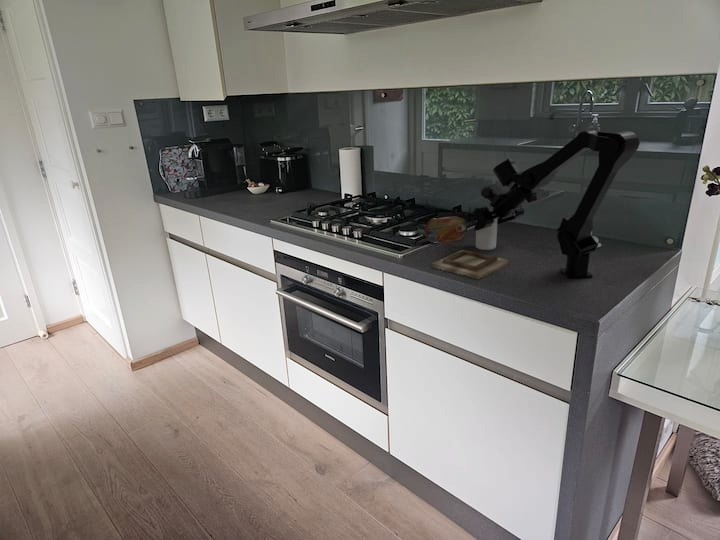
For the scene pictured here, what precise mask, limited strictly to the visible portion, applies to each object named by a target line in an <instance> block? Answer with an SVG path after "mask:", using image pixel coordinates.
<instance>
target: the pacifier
mask: <svg viewBox="0 0 720 540" xmlns="http://www.w3.org/2000/svg"><path fill="white" fill-rule="evenodd" d="M591 236H592V237H593V238H594V240H595V241H596V243H597V244H598V247H597V248H596V249H598V248H600V247H602V244H601V242H600V243H599V238H598V237H597V236H595V235H593V231H592V232H591Z"/></svg>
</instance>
